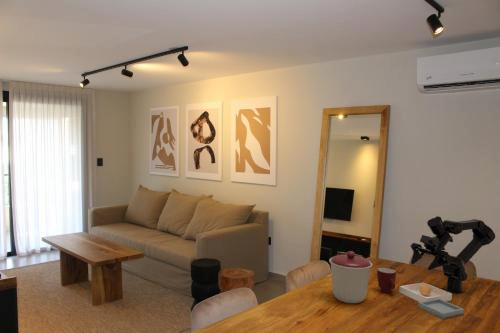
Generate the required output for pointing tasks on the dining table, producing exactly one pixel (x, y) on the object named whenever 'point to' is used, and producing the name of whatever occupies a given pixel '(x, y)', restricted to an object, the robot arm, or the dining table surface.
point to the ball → (425, 289)
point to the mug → (386, 279)
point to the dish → (415, 294)
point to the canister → (350, 277)
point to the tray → (441, 308)
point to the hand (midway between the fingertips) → (419, 266)
